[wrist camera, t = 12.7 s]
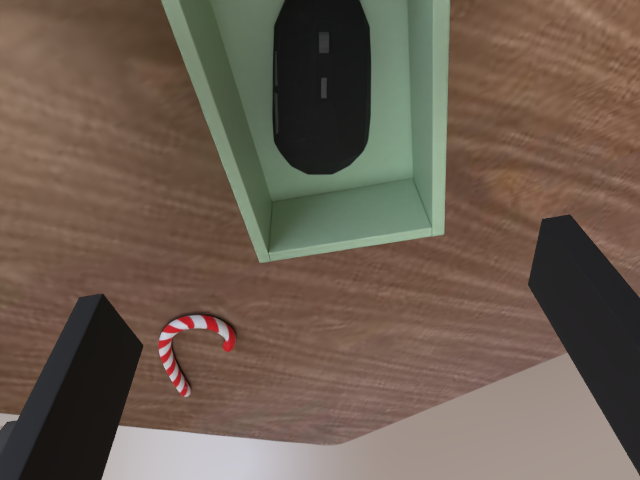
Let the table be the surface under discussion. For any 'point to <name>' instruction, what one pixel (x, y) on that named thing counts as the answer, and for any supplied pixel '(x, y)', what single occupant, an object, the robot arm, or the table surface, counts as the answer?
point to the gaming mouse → (321, 84)
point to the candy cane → (184, 324)
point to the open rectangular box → (384, 134)
